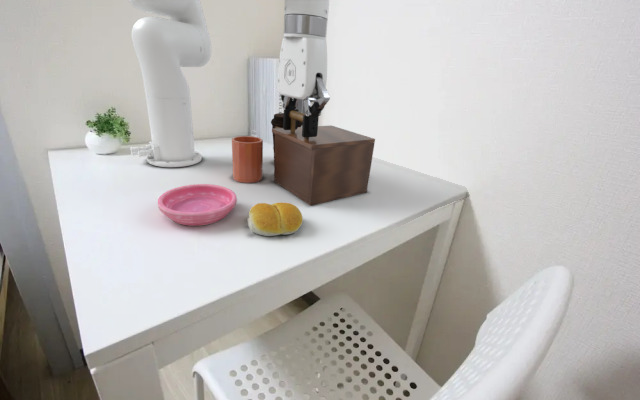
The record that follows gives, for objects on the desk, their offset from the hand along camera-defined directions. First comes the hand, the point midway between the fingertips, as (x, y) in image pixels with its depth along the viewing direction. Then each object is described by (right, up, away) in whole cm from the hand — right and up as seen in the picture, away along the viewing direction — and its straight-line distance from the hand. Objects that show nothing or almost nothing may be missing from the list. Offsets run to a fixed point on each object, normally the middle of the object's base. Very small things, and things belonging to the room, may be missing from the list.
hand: (299, 132), depth 61 cm
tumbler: (-13, -8, +10) cm, 18 cm away
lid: (+5, 0, +4) cm, 6 cm away
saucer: (-17, -16, -7) cm, 24 cm away
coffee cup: (-5, -4, +23) cm, 24 cm away
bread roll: (-4, -18, -9) cm, 21 cm away
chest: (+4, -10, +9) cm, 14 cm away
